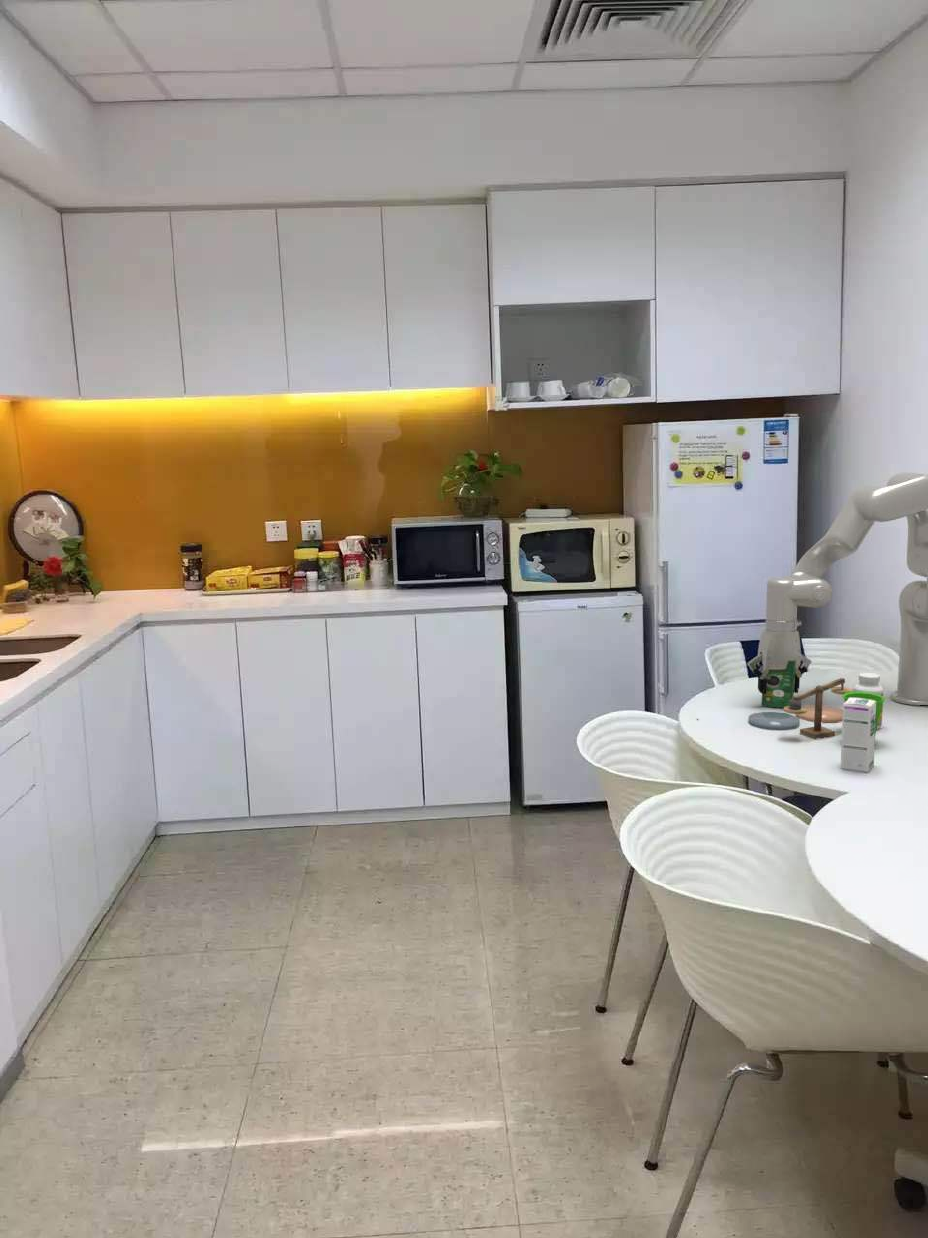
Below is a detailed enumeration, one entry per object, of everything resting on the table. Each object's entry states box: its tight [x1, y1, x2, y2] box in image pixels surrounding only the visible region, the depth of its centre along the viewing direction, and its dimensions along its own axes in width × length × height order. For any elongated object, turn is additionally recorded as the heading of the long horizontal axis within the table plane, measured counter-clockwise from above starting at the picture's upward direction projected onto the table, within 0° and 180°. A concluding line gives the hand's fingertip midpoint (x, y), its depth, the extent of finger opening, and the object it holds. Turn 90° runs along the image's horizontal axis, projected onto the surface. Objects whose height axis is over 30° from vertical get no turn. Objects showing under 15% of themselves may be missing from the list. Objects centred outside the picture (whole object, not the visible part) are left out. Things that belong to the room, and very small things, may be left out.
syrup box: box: [840, 697, 876, 773], centre depth 213 cm, size 6×6×14 cm
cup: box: [841, 692, 886, 736], centre depth 229 cm, size 9×9×11 cm
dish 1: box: [748, 711, 801, 731], centre depth 247 cm, size 12×12×1 cm
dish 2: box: [795, 704, 843, 724], centre depth 252 cm, size 12×12×1 cm
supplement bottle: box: [853, 672, 884, 730], centre depth 241 cm, size 7×7×13 cm
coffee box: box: [761, 660, 796, 709], centre depth 260 cm, size 8×3×13 cm, turn 62°
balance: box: [783, 677, 854, 740], centre depth 236 cm, size 19×5×13 cm, turn 112°
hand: (778, 692), depth 261 cm, fingers closed on coffee box, 7 cm apart
